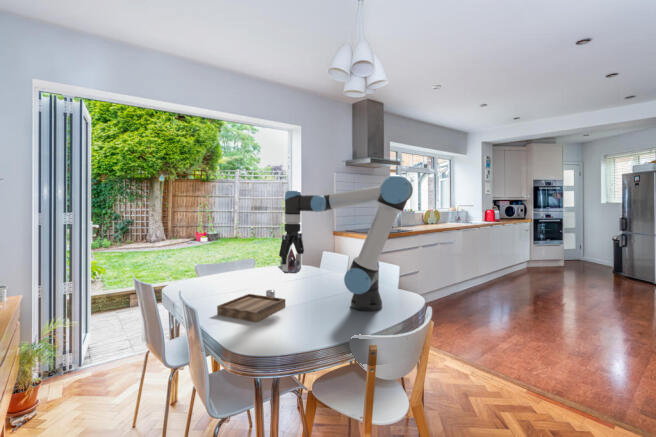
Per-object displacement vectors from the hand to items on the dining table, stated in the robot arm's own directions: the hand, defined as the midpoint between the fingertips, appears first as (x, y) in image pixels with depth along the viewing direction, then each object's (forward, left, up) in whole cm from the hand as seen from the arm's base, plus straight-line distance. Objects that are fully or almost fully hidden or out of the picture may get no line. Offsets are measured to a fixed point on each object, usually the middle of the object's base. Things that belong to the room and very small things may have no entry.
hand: (291, 269), depth 155 cm
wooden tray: (+14, +12, -19) cm, 26 cm away
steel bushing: (+16, -5, -19) cm, 25 cm away
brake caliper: (+1, 0, -2) cm, 2 cm away
